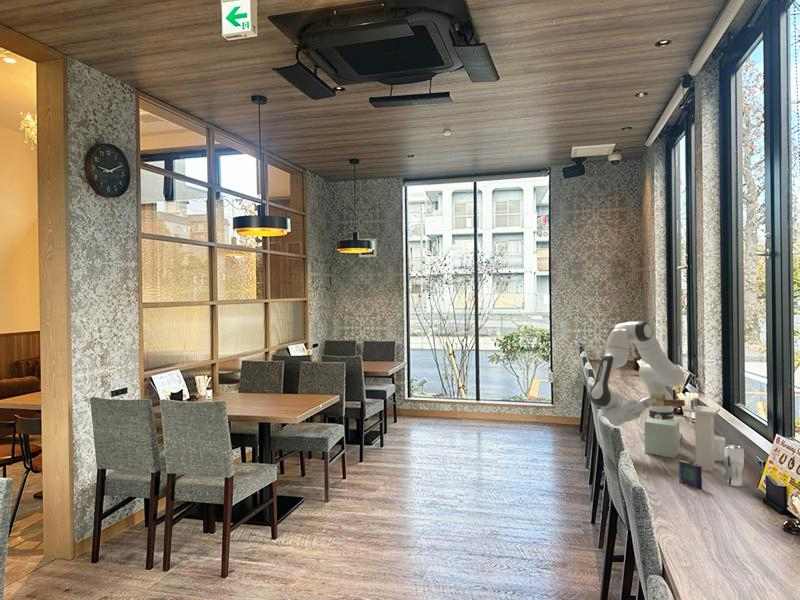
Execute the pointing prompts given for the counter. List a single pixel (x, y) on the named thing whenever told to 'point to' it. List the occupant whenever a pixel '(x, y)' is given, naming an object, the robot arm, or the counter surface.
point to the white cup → (718, 448)
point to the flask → (690, 473)
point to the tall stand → (704, 433)
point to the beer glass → (733, 464)
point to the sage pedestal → (662, 437)
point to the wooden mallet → (666, 401)
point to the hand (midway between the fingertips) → (658, 398)
